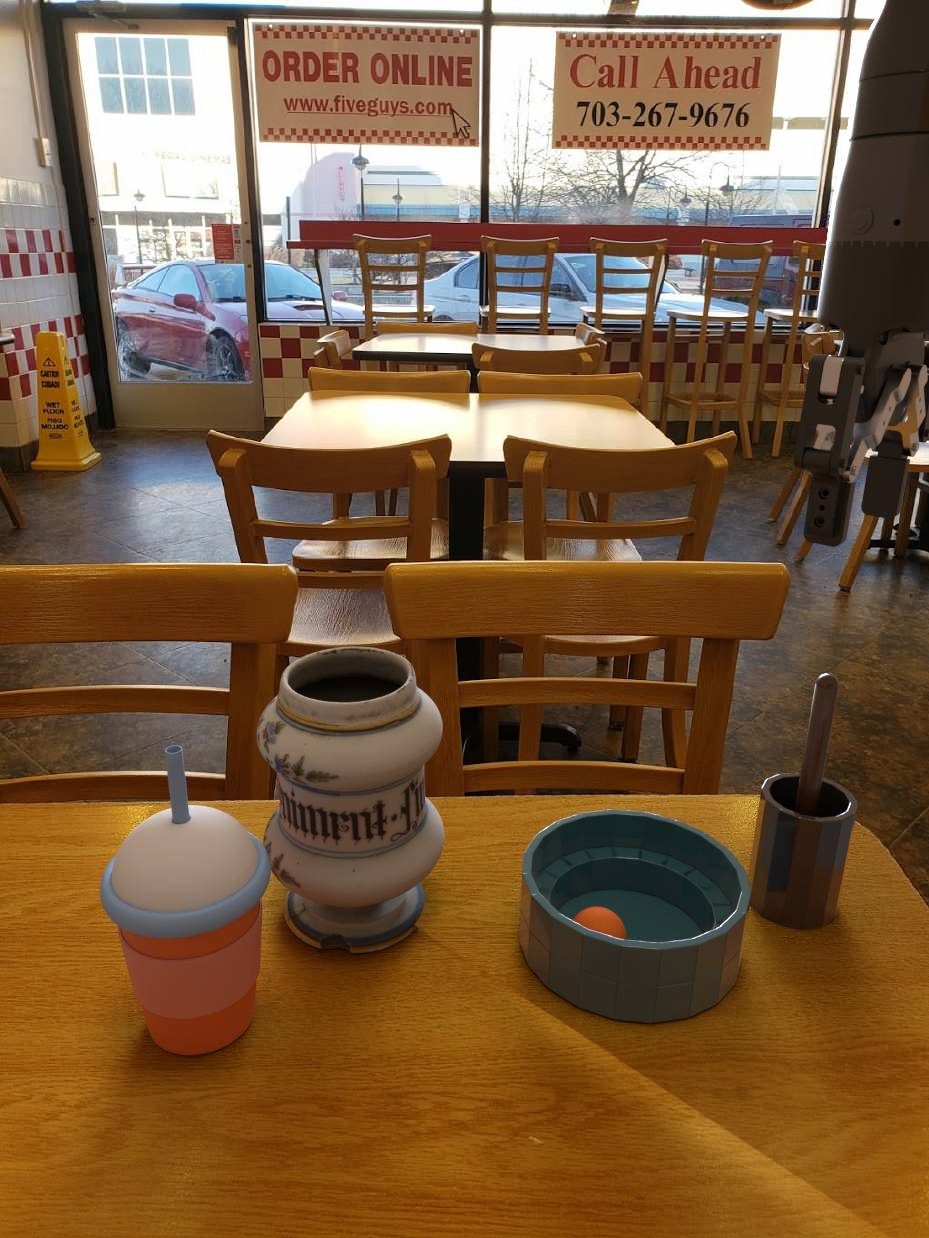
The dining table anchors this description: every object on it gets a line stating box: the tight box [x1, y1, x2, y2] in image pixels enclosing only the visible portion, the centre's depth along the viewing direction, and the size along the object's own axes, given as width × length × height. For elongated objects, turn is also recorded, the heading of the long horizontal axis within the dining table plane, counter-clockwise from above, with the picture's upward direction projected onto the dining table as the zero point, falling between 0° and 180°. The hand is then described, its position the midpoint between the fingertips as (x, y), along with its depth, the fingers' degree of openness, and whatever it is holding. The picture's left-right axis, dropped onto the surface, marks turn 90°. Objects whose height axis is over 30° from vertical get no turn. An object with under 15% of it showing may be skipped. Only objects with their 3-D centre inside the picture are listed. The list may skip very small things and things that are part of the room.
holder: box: [747, 772, 859, 931], centre depth 64 cm, size 6×6×9 cm
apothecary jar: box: [256, 646, 445, 955], centre depth 62 cm, size 12×12×18 cm
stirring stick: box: [794, 673, 840, 817], centre depth 63 cm, size 1×2×17 cm, turn 48°
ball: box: [573, 907, 626, 940], centre depth 59 cm, size 4×4×4 cm
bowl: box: [518, 808, 751, 1024], centre depth 61 cm, size 14×14×6 cm
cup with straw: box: [99, 744, 272, 1056], centre depth 52 cm, size 9×9×18 cm
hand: (853, 528), depth 56 cm, fingers open, 8 cm apart
